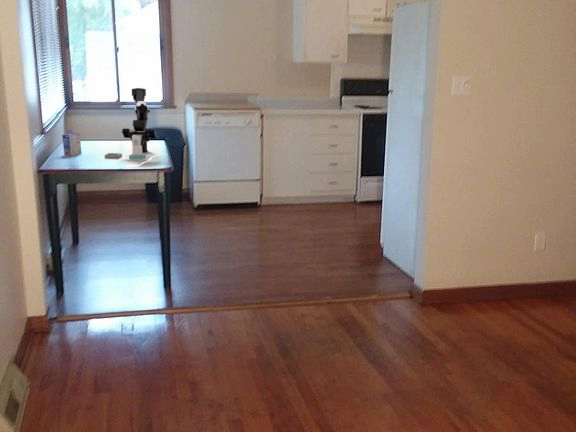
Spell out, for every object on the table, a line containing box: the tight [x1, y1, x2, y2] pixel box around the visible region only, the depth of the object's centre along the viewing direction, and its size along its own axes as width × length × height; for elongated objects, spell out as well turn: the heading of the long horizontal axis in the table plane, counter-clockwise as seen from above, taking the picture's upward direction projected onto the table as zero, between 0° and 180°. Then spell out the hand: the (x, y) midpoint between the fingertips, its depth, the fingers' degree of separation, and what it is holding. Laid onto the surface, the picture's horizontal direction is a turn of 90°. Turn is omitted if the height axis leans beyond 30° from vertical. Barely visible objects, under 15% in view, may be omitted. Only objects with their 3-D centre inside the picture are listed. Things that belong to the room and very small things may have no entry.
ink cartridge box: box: [61, 129, 82, 157], centre depth 363 cm, size 10×6×14 cm, turn 161°
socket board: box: [101, 152, 150, 163], centre depth 350 cm, size 24×12×3 cm, turn 87°
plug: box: [131, 135, 143, 156], centre depth 348 cm, size 5×4×12 cm
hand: (136, 145), depth 348 cm, fingers closed on plug, 4 cm apart
